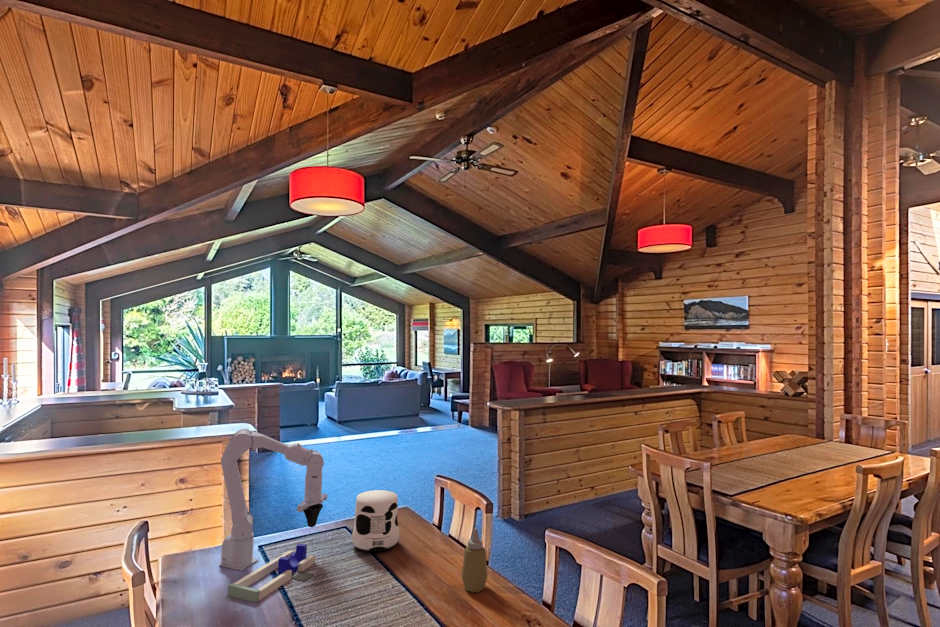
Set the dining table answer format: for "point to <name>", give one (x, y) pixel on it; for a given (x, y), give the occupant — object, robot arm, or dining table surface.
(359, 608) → the dining table surface
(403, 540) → the dining table surface
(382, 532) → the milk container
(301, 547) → the cable clip
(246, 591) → the lane
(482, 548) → the squeeze bottle
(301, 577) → the mat
